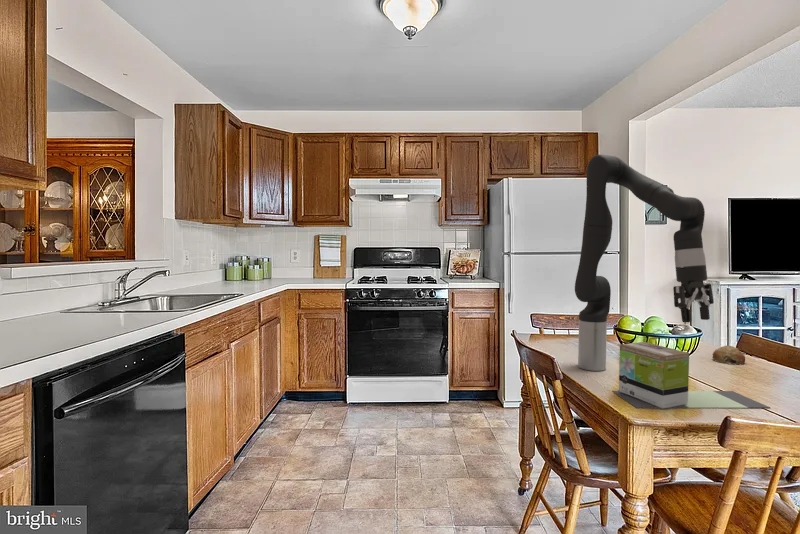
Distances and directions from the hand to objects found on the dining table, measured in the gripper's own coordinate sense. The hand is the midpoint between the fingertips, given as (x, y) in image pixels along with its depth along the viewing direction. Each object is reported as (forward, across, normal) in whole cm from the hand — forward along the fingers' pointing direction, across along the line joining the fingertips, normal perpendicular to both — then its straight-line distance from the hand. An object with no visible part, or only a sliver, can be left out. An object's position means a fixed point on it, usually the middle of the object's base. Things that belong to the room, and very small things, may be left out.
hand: (696, 320), depth 130 cm
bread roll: (+21, -53, -23) cm, 62 cm away
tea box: (+21, +14, -6) cm, 26 cm away
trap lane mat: (+22, +4, -2) cm, 23 cm away
